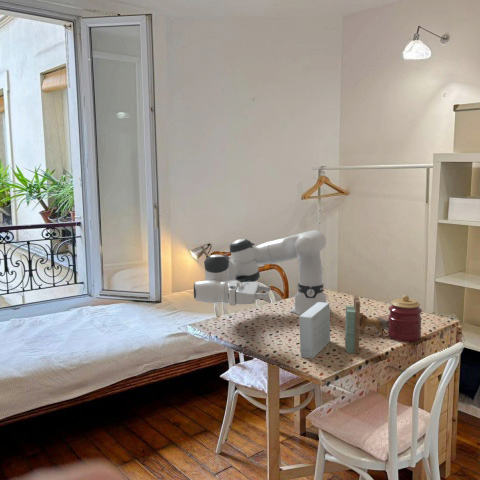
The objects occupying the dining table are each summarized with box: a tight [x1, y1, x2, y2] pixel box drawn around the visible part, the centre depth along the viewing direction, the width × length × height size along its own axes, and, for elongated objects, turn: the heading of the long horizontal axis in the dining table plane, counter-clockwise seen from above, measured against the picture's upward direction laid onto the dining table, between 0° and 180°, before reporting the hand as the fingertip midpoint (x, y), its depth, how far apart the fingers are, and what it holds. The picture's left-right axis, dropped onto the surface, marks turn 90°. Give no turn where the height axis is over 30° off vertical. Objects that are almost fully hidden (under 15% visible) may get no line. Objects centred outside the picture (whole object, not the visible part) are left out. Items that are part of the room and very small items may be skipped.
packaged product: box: [376, 314, 389, 331], centre depth 223 cm, size 18×5×10 cm
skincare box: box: [298, 302, 331, 359], centre depth 195 cm, size 21×6×16 cm, turn 152°
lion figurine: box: [359, 312, 388, 337], centre depth 211 cm, size 15×5×9 cm, turn 72°
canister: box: [387, 294, 423, 343], centre depth 206 cm, size 13×13×18 cm
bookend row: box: [344, 295, 361, 355], centre depth 193 cm, size 9×4×20 cm, turn 172°
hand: (269, 292), depth 195 cm, fingers open, 8 cm apart
